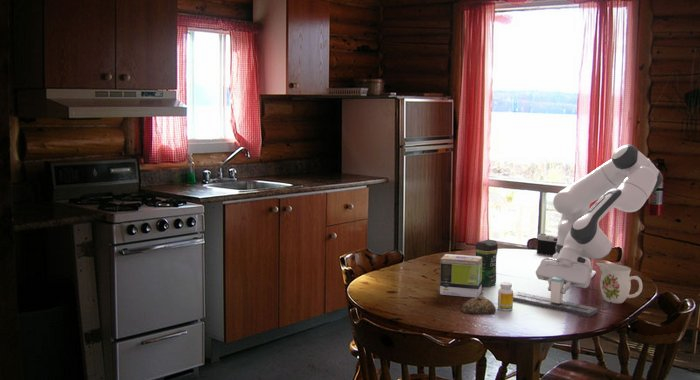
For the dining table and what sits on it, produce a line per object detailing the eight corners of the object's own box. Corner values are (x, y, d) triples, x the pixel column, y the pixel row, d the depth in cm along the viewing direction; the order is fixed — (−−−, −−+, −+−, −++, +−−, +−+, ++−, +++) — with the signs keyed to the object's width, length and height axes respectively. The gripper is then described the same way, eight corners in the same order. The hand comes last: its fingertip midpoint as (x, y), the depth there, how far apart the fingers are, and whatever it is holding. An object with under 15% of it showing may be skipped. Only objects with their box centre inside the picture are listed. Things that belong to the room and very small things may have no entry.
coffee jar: (486, 288, 296) (488, 243, 293) (470, 284, 301) (472, 240, 299) (499, 284, 303) (501, 240, 300) (483, 280, 308) (484, 237, 306)
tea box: (481, 292, 290) (483, 255, 288) (477, 299, 280) (479, 261, 278) (444, 288, 295) (445, 252, 293) (439, 294, 285) (440, 257, 283)
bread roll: (495, 316, 260) (496, 302, 259) (460, 314, 262) (461, 300, 261) (495, 306, 272) (496, 293, 272) (461, 304, 274) (462, 291, 274)
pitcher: (636, 309, 270) (638, 273, 268) (588, 300, 281) (590, 265, 279) (645, 302, 279) (648, 267, 277) (598, 294, 290) (600, 260, 288)
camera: (570, 255, 359) (571, 235, 358) (562, 258, 352) (563, 238, 351) (544, 251, 368) (545, 231, 367) (535, 253, 361) (536, 234, 360)
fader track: (517, 295, 286) (517, 291, 286) (597, 312, 265) (597, 308, 265) (507, 299, 280) (507, 295, 280) (588, 317, 259) (589, 312, 259)
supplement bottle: (494, 307, 269) (495, 282, 268) (506, 305, 271) (507, 280, 270) (503, 311, 264) (504, 286, 263) (515, 310, 266) (516, 284, 265)
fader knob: (553, 300, 274) (555, 276, 272) (562, 301, 271) (563, 278, 270) (550, 301, 271) (551, 278, 270) (558, 303, 269) (560, 279, 268)
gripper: (541, 252, 281) (527, 281, 275) (592, 261, 268) (580, 292, 262) (545, 261, 285) (532, 291, 279) (596, 270, 272) (584, 301, 266)
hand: (556, 291), depth 270 cm, fingers closed on fader knob, 3 cm apart
